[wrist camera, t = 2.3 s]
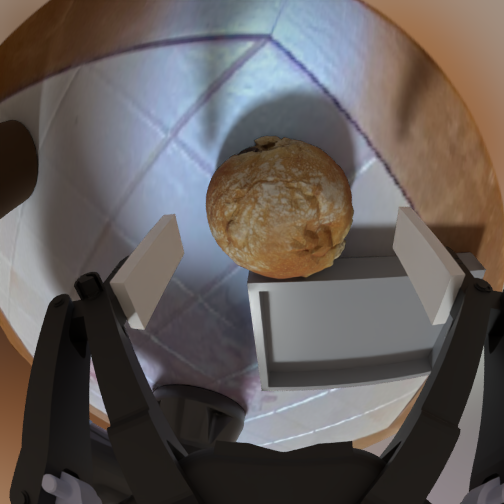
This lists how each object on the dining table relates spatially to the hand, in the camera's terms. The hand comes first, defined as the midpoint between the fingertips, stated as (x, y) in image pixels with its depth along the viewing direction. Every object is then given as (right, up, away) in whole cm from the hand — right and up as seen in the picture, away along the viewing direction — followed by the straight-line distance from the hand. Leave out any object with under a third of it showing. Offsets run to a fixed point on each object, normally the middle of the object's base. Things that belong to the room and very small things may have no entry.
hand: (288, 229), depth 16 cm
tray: (+9, -8, +11) cm, 16 cm away
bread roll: (0, +3, +5) cm, 6 cm away
